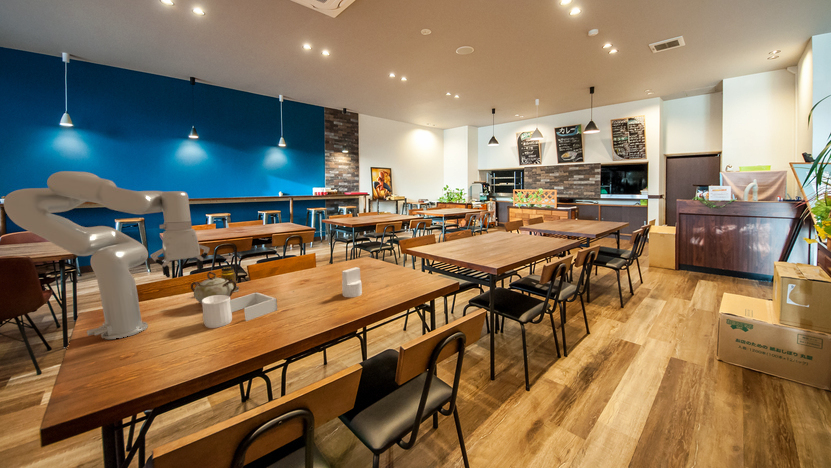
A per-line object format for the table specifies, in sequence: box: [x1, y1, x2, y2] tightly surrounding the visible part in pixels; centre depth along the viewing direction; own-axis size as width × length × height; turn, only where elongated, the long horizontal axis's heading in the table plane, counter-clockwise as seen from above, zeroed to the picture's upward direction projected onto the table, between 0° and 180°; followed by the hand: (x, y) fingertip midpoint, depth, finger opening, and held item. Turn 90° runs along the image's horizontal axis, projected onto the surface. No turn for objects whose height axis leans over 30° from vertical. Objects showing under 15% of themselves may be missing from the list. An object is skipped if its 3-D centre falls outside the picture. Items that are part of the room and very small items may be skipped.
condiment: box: [220, 266, 240, 293], centre depth 161 cm, size 7×8×12 cm
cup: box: [201, 295, 233, 329], centre depth 122 cm, size 10×10×10 cm
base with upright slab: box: [341, 267, 363, 298], centre depth 153 cm, size 9×9×12 cm
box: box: [230, 292, 278, 322], centre depth 134 cm, size 13×15×5 cm
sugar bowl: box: [190, 271, 237, 305], centre depth 142 cm, size 20×15×15 cm
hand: (184, 273), depth 116 cm, fingers open, 9 cm apart
